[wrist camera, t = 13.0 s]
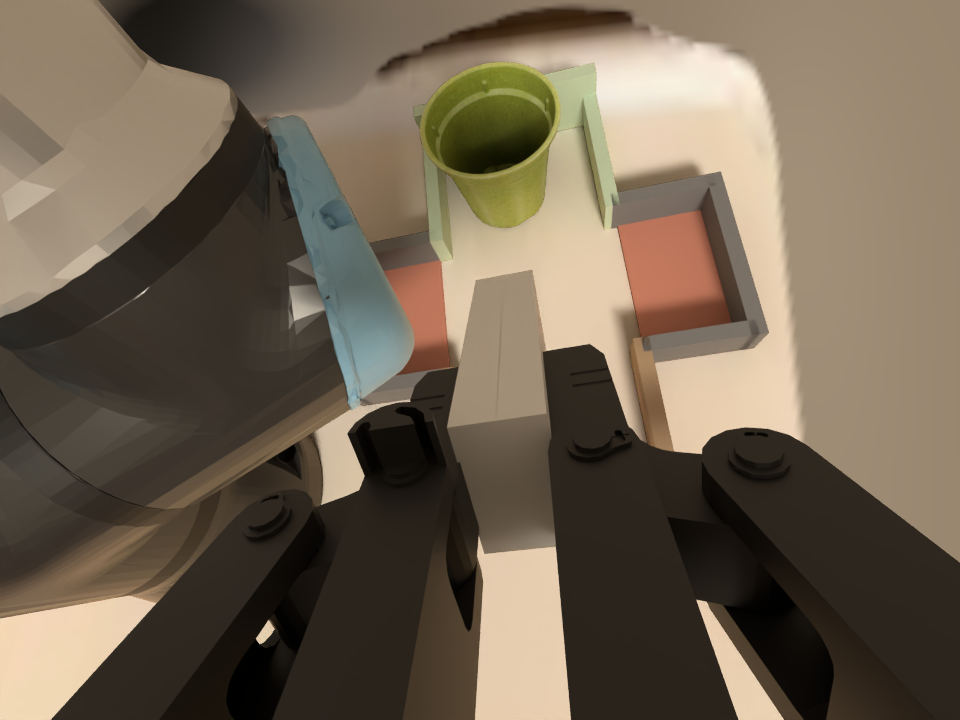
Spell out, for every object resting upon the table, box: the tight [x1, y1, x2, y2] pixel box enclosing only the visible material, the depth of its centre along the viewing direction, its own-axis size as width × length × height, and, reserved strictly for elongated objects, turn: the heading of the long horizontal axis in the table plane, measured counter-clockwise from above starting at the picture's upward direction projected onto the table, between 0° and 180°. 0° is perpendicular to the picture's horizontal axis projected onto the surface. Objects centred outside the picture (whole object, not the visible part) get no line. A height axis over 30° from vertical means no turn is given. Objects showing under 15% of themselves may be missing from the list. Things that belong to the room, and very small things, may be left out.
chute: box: [440, 336, 674, 451], centre depth 33 cm, size 10×14×3 cm
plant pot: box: [420, 62, 561, 228], centre depth 37 cm, size 9×9×9 cm
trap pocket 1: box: [611, 172, 769, 363], centre depth 35 cm, size 12×8×3 cm, turn 6°
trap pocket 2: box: [360, 230, 449, 406], centre depth 38 cm, size 12×8×3 cm, turn 6°
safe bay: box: [413, 63, 620, 261], centre depth 39 cm, size 11×14×5 cm
